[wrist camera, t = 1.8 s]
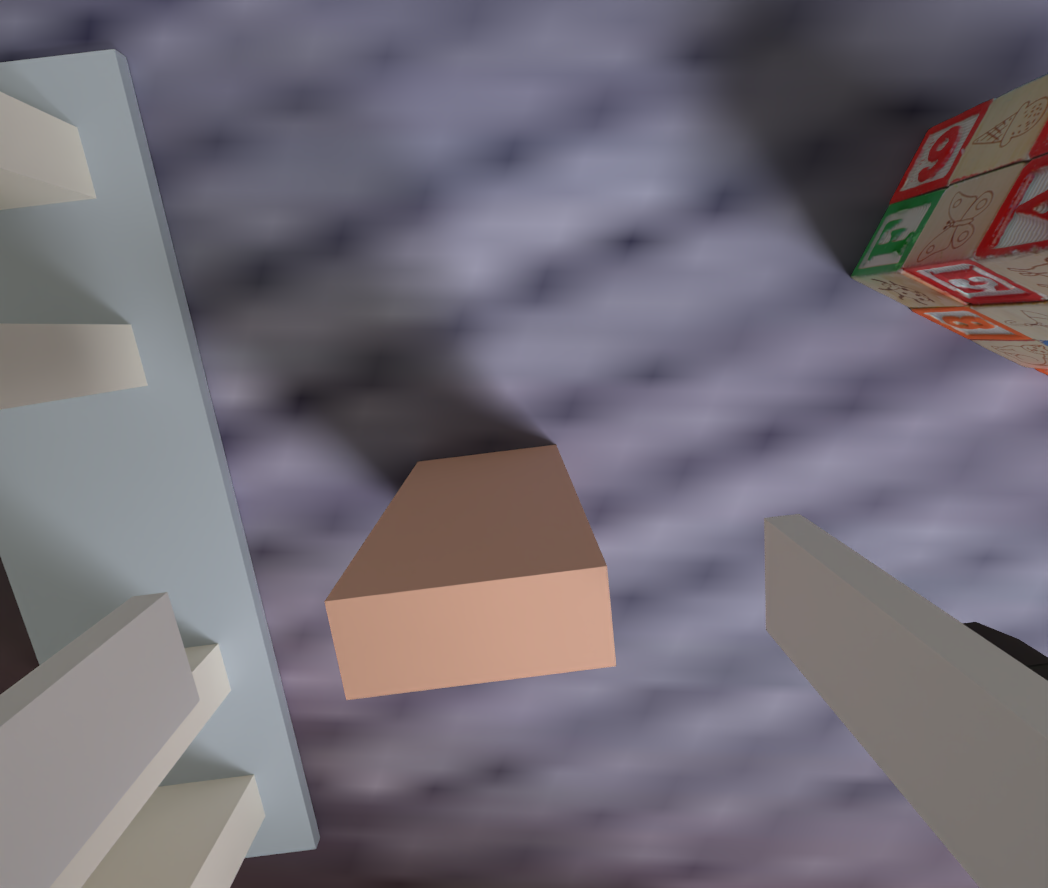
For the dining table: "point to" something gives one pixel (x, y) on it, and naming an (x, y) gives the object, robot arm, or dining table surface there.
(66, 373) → the domino
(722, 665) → the dining table surface
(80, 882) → the domino
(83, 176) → the end domino
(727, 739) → the dining table surface
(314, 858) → the dining table surface
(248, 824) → the domino
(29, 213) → the mat
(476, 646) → the domino
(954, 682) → the robot arm
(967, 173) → the stack of blocks
